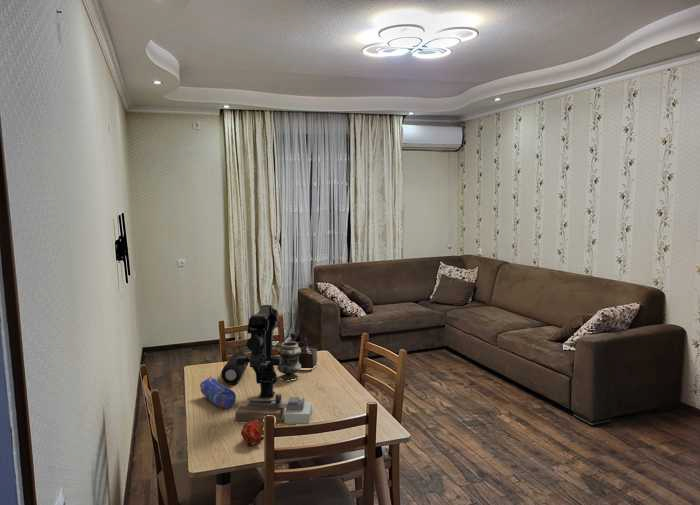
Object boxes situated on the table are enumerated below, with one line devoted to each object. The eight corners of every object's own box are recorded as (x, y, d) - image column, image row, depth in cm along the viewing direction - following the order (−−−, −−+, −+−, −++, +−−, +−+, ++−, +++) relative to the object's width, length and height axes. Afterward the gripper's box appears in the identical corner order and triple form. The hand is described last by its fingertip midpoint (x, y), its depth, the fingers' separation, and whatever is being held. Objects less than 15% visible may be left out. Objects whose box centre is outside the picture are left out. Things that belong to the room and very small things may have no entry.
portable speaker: (240, 385, 249) (240, 365, 248) (220, 385, 249) (219, 365, 248) (249, 368, 275) (249, 350, 274) (231, 369, 275) (230, 350, 274)
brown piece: (318, 364, 282) (317, 332, 280) (312, 371, 271) (312, 337, 269) (291, 362, 285) (290, 331, 283) (284, 369, 274) (284, 336, 272)
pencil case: (199, 397, 234) (198, 377, 233) (217, 393, 239) (216, 373, 238) (218, 413, 217) (217, 391, 216) (237, 408, 222) (236, 386, 221)
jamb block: (289, 411, 218) (288, 394, 217) (312, 411, 218) (312, 394, 217) (284, 423, 206) (284, 405, 206) (309, 423, 206) (309, 405, 205)
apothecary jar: (297, 382, 253) (297, 347, 252) (274, 381, 255) (274, 346, 253) (303, 374, 265) (303, 340, 263) (281, 373, 267) (281, 339, 265)
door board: (242, 410, 219) (242, 396, 218) (284, 411, 218) (284, 396, 218) (235, 422, 207) (235, 407, 206) (279, 423, 206) (279, 408, 206)
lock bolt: (270, 408, 211) (270, 396, 210) (271, 405, 213) (271, 394, 213) (299, 408, 210) (299, 396, 210) (300, 406, 213) (300, 394, 212)
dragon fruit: (258, 438, 197) (253, 457, 185) (239, 426, 195) (233, 445, 184) (270, 422, 195) (266, 440, 183) (252, 410, 194) (246, 428, 182)
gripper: (232, 349, 210) (233, 386, 212) (277, 350, 210) (277, 386, 211) (238, 342, 221) (239, 377, 223) (281, 342, 221) (282, 377, 222)
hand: (259, 379), depth 219 cm, fingers closed
